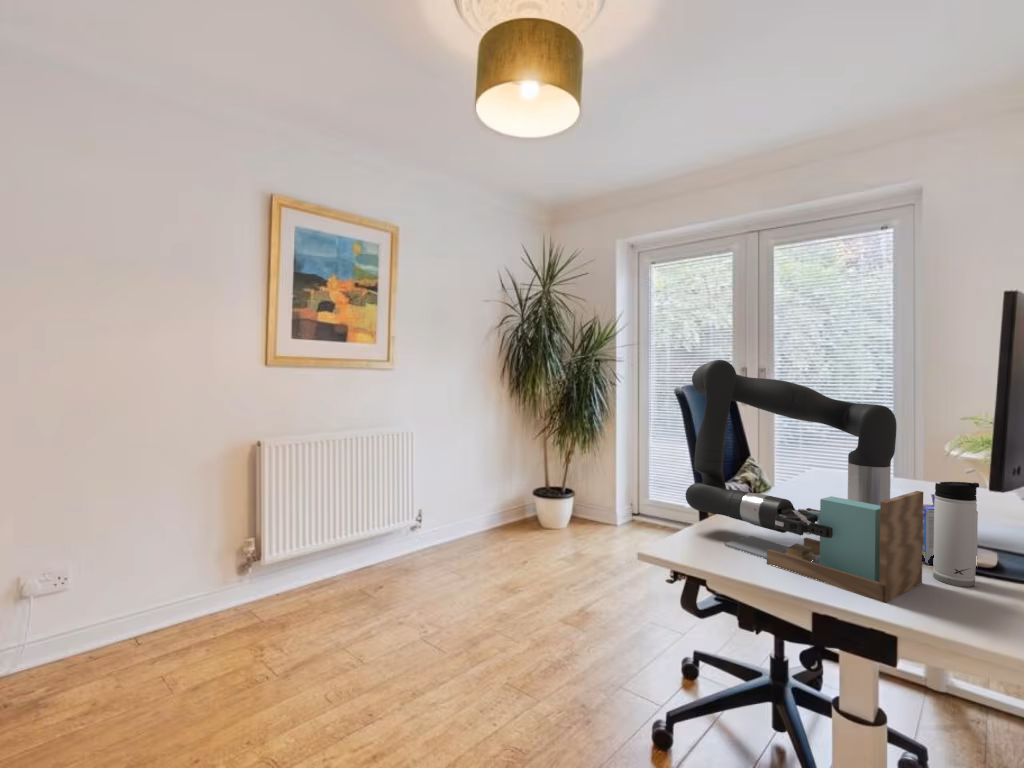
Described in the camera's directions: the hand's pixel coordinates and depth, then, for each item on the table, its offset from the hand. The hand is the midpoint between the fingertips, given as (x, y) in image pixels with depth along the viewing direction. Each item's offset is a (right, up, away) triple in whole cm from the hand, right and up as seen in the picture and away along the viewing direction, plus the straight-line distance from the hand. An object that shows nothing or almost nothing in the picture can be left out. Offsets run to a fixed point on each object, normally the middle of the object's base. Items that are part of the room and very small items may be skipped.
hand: (842, 529), depth 103 cm
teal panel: (+1, -9, -1) cm, 9 cm away
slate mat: (-9, -9, +15) cm, 20 cm away
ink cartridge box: (+27, -9, +7) cm, 29 cm away
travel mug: (+20, -9, -3) cm, 22 cm away
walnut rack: (0, -9, 0) cm, 9 cm away
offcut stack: (-5, -9, +8) cm, 13 cm away
